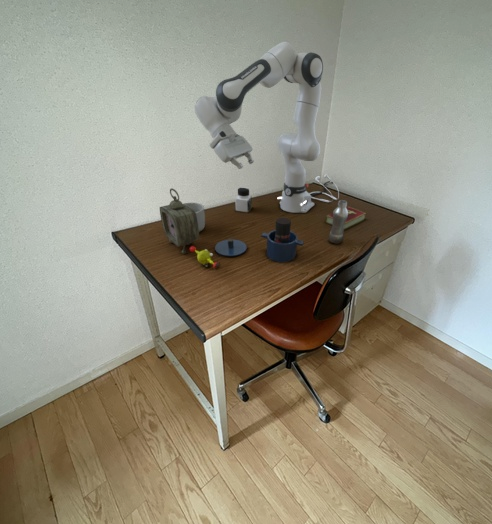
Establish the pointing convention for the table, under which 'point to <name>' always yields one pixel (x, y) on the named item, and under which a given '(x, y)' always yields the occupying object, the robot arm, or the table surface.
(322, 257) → the table surface
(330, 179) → the earphone
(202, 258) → the toy figure
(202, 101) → the robot arm
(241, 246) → the pot lid
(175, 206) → the tabletop clock
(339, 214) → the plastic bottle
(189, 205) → the planter
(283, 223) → the deodorant
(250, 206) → the medicine bottle
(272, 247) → the pot
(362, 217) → the hardcover book
